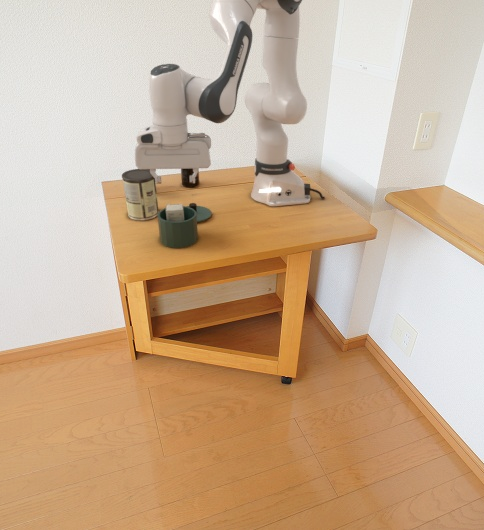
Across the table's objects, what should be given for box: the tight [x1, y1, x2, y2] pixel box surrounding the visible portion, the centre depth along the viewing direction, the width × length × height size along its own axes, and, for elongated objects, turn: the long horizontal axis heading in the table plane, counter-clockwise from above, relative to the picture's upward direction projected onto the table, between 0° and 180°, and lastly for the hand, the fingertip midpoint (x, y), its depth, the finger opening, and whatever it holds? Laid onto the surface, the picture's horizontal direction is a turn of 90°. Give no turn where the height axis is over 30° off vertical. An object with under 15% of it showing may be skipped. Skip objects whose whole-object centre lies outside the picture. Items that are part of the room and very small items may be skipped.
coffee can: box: [121, 168, 160, 221], centre depth 134 cm, size 10×10×14 cm
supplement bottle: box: [180, 168, 200, 189], centre depth 158 cm, size 7×7×12 cm
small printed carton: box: [165, 203, 184, 222], centre depth 122 cm, size 5×4×10 cm
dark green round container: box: [157, 205, 199, 249], centre depth 122 cm, size 11×11×8 cm
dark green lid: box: [185, 202, 212, 223], centre depth 137 cm, size 12×12×4 cm
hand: (175, 182), depth 115 cm, fingers open, 8 cm apart
